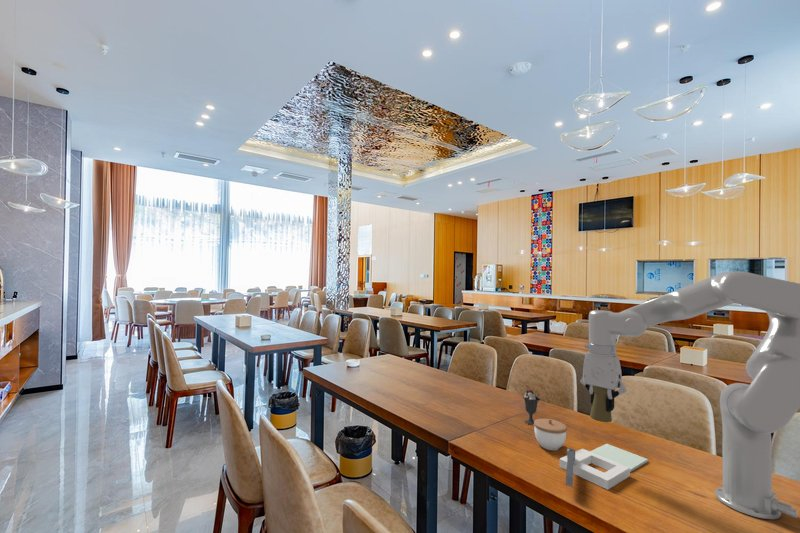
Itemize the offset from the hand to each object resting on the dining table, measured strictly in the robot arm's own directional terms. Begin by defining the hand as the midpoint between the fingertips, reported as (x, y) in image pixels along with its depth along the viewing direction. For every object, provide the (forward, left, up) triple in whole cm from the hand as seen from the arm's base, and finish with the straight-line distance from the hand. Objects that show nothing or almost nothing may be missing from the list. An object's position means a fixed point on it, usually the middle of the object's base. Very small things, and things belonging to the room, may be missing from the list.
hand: (602, 408), depth 112 cm
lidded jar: (+18, -1, -19) cm, 26 cm away
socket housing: (+1, +3, -19) cm, 19 cm away
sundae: (+35, -14, -19) cm, 42 cm away
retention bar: (+2, +14, -16) cm, 21 cm away
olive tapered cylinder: (0, 0, -3) cm, 3 cm away
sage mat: (+1, -13, -19) cm, 23 cm away
